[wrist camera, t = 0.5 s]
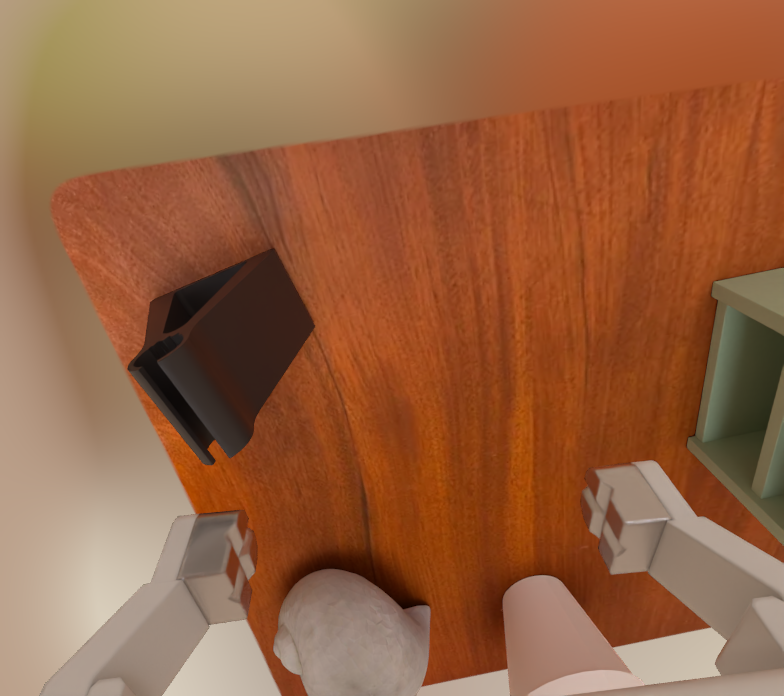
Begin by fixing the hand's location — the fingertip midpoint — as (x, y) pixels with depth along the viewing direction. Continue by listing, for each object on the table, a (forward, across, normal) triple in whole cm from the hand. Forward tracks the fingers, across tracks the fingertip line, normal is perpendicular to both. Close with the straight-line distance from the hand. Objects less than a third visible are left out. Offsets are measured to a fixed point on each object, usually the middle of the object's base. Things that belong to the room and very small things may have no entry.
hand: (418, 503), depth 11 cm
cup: (+20, -12, +42) cm, 48 cm away
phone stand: (+22, +10, +6) cm, 25 cm away
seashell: (+19, +6, +38) cm, 43 cm away
